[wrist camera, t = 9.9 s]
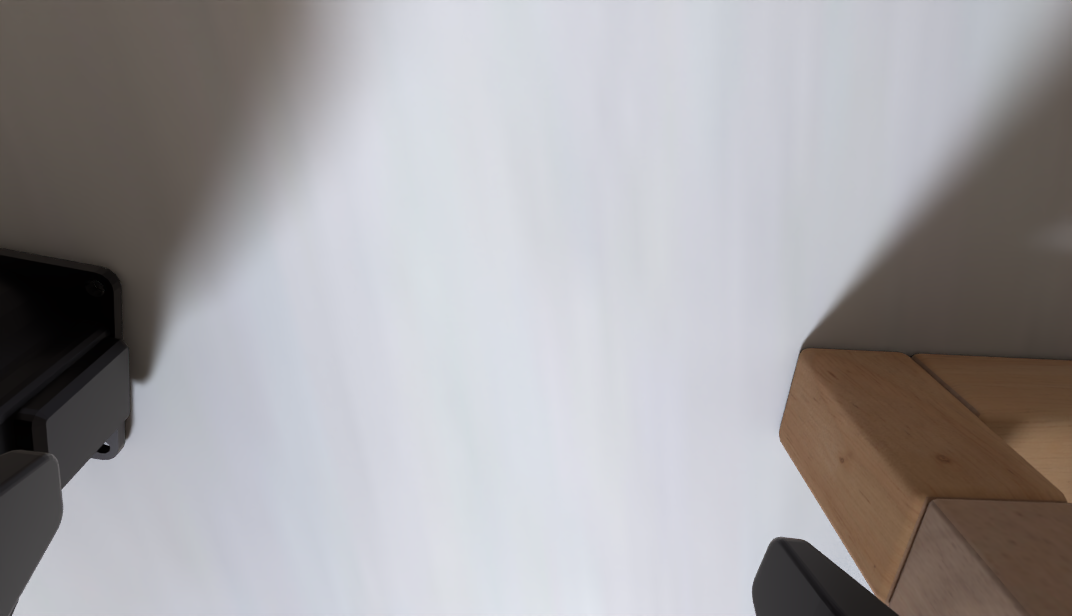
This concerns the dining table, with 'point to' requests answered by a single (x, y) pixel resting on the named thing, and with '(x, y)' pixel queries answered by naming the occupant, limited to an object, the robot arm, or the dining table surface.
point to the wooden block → (942, 475)
